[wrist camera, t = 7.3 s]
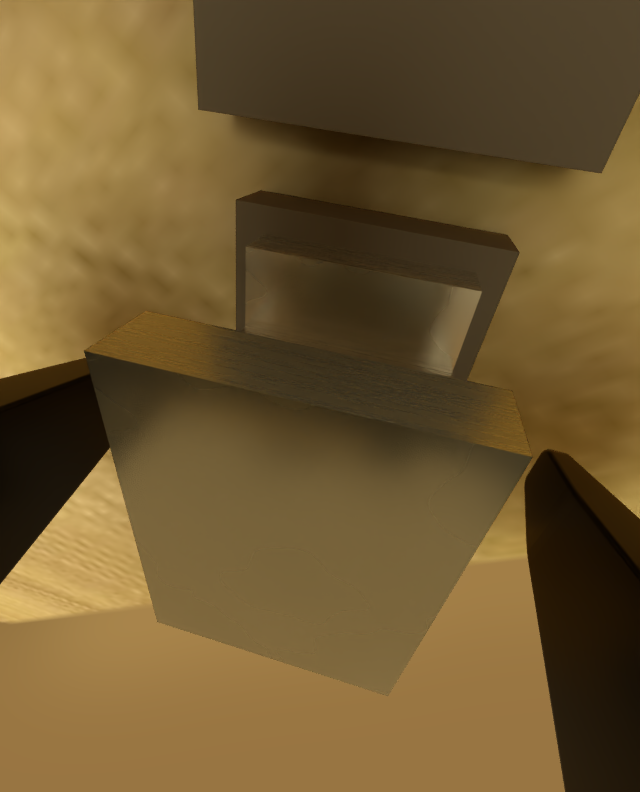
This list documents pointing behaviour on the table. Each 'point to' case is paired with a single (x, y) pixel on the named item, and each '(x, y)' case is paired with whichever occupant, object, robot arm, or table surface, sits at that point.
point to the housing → (310, 457)
